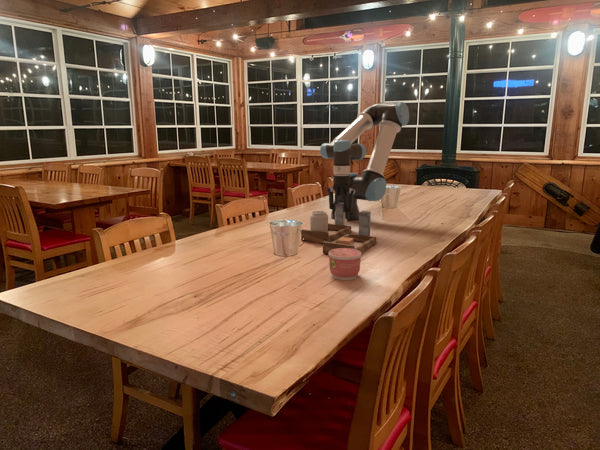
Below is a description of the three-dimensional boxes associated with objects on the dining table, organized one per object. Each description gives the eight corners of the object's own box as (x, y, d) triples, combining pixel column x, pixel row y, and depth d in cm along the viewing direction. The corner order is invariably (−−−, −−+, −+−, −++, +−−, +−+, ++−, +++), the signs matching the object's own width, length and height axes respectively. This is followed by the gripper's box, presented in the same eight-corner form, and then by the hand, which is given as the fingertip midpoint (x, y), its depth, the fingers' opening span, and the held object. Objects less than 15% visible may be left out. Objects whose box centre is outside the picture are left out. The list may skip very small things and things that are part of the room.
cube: (340, 249, 172) (341, 237, 170) (353, 250, 170) (353, 238, 169) (337, 252, 167) (337, 240, 166) (350, 254, 165) (350, 241, 164)
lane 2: (352, 236, 189) (353, 209, 186) (379, 240, 183) (380, 212, 180) (322, 253, 166) (323, 222, 163) (352, 257, 159) (353, 226, 157)
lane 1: (330, 226, 208) (330, 201, 206) (354, 229, 202) (355, 204, 199) (301, 239, 185) (301, 212, 182) (327, 243, 179) (327, 214, 176)
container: (327, 270, 147) (328, 247, 145) (359, 270, 146) (359, 247, 144) (328, 281, 136) (329, 257, 135) (362, 281, 136) (363, 257, 134)
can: (327, 242, 182) (327, 213, 179) (309, 241, 183) (309, 213, 180) (328, 237, 189) (328, 210, 186) (311, 237, 190) (311, 210, 187)
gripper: (321, 174, 199) (321, 224, 204) (355, 176, 191) (354, 228, 196) (329, 173, 205) (328, 221, 211) (361, 174, 197) (360, 225, 202)
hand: (340, 224), depth 203 cm, fingers closed on lane 1, 3 cm apart
